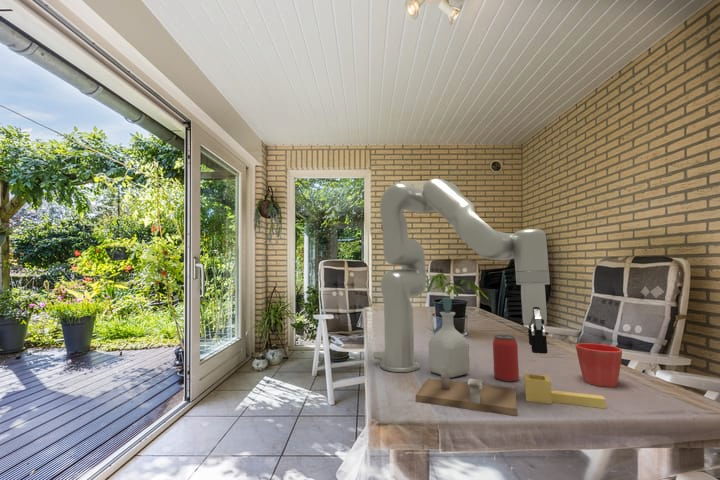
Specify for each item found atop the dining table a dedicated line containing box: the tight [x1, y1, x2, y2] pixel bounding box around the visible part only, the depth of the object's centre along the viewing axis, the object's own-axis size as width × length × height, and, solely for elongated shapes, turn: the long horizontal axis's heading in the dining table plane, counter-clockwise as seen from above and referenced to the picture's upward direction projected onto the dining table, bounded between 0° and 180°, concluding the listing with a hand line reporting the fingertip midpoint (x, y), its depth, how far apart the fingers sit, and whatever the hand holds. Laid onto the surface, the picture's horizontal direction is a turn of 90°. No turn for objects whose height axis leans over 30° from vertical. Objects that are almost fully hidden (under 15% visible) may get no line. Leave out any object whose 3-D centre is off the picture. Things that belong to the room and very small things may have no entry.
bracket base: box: [415, 365, 518, 417], centre depth 84 cm, size 22×14×7 cm, turn 67°
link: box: [523, 372, 607, 410], centre depth 81 cm, size 16×5×5 cm, turn 67°
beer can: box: [492, 334, 520, 383], centre depth 99 cm, size 7×7×12 cm
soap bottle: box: [428, 297, 470, 379], centre depth 105 cm, size 10×10×23 cm
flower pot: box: [575, 342, 623, 388], centre depth 95 cm, size 11×11×10 cm
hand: (537, 348), depth 84 cm, fingers open, 9 cm apart
